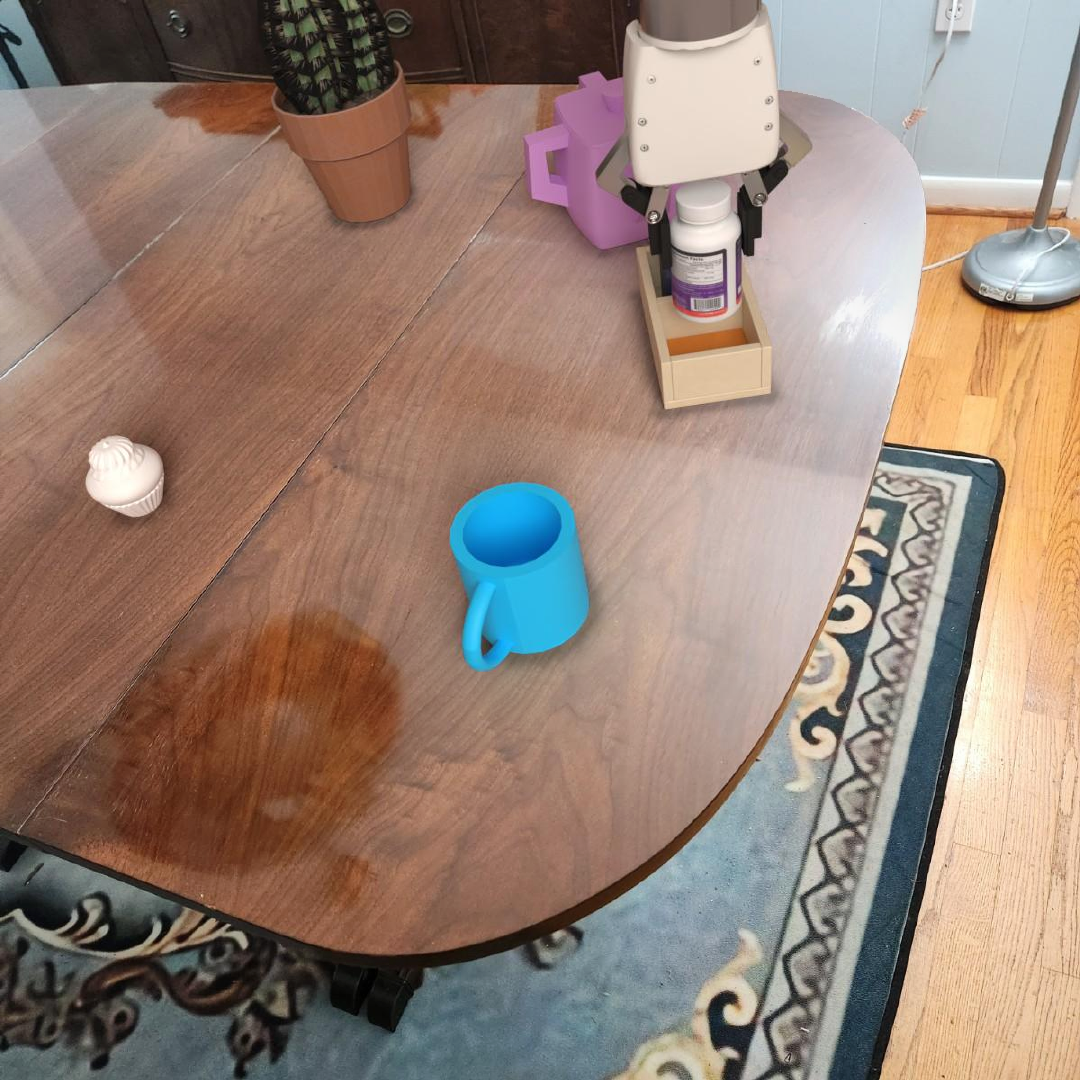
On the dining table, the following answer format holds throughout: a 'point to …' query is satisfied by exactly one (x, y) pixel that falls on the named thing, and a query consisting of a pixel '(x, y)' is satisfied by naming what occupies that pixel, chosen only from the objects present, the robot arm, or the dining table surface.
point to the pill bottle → (706, 252)
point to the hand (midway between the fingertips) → (705, 251)
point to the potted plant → (340, 101)
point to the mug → (518, 572)
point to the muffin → (125, 476)
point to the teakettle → (587, 163)
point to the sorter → (704, 345)
